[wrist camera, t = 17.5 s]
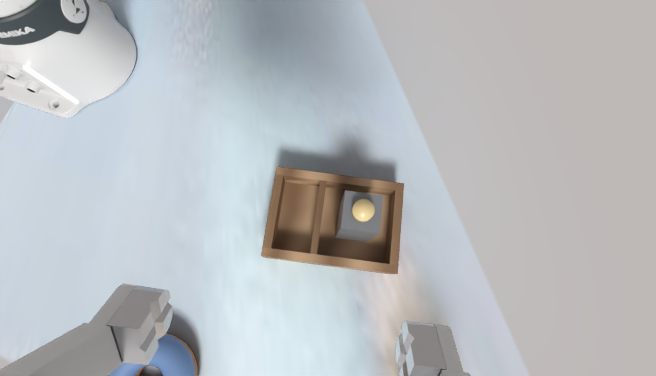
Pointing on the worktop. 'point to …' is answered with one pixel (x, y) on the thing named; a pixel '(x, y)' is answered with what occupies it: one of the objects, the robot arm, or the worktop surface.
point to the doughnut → (165, 360)
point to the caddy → (329, 221)
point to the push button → (359, 216)
